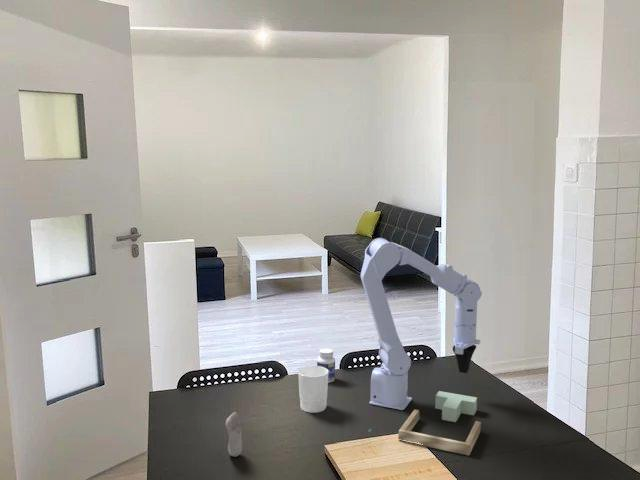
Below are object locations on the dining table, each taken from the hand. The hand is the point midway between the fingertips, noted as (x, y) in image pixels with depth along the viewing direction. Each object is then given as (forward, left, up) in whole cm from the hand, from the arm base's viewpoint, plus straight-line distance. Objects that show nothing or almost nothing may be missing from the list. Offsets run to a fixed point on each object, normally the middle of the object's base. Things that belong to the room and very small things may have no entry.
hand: (463, 371), depth 166 cm
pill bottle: (-39, -4, -8) cm, 40 cm away
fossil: (-39, -53, -8) cm, 66 cm away
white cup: (-34, -23, -8) cm, 42 cm away
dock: (0, -24, -7) cm, 25 cm away
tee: (0, -11, -7) cm, 13 cm away
